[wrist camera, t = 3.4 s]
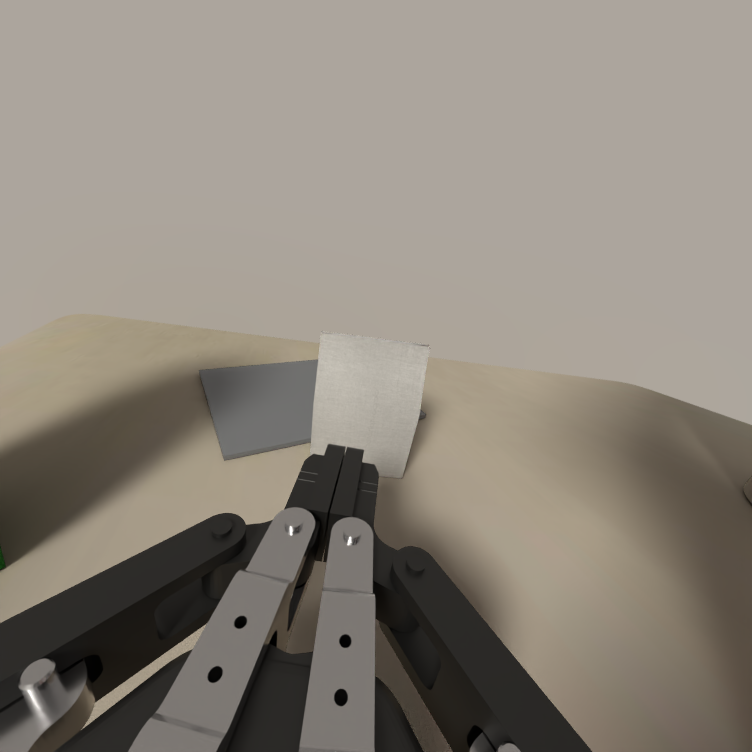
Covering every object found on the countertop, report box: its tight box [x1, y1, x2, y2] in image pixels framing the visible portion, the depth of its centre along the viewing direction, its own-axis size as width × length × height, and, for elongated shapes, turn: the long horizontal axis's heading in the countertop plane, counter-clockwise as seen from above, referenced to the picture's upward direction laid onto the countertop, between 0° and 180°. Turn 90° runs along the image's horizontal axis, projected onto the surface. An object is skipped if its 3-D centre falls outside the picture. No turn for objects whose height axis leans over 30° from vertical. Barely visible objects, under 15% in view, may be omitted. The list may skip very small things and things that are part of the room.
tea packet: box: [310, 331, 430, 478], centre depth 24 cm, size 4×7×10 cm, turn 91°
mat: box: [199, 360, 426, 460], centre depth 34 cm, size 18×14×1 cm
